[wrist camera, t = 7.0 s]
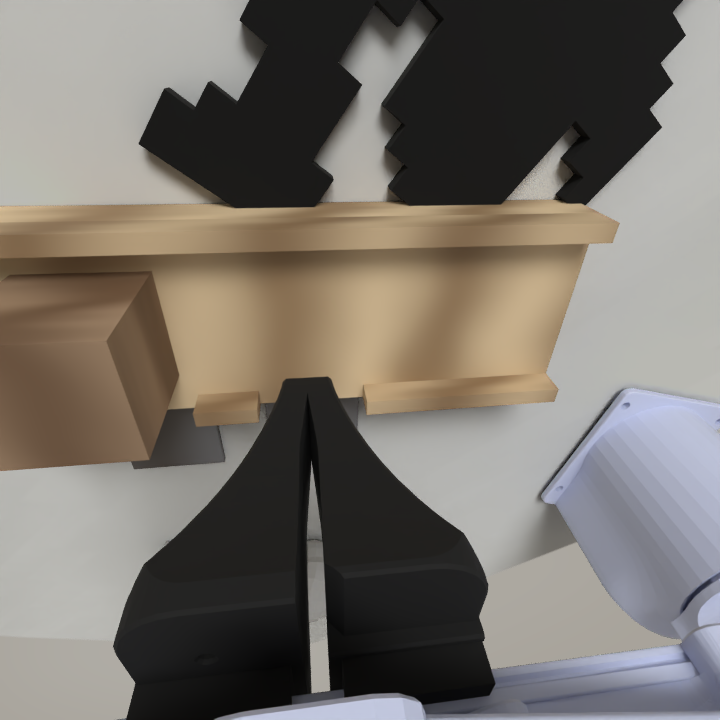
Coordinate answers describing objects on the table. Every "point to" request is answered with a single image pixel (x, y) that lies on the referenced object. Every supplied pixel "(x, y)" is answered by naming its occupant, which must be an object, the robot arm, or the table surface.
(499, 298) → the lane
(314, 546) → the mushroom
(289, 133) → the black pixelated cutout
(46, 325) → the walnut block
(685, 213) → the table surface
